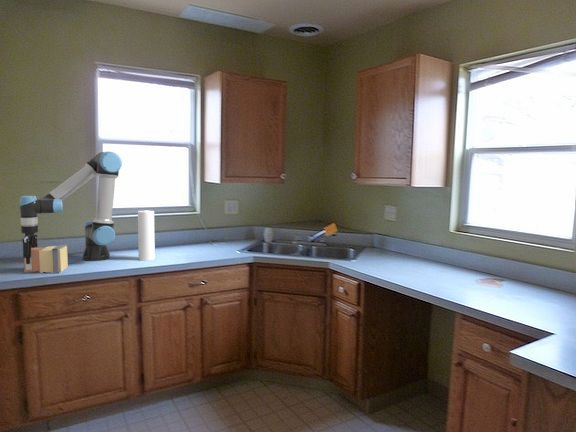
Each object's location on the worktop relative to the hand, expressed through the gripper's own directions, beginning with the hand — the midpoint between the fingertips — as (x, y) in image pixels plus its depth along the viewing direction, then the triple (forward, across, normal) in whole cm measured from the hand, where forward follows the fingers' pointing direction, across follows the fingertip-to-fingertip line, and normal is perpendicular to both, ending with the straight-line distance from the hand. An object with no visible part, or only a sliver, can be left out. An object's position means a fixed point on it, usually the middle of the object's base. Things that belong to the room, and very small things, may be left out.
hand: (31, 268), depth 220 cm
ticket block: (+1, 0, +11) cm, 11 cm away
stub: (+1, 0, +2) cm, 2 cm away
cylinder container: (+2, -22, +56) cm, 60 cm away
